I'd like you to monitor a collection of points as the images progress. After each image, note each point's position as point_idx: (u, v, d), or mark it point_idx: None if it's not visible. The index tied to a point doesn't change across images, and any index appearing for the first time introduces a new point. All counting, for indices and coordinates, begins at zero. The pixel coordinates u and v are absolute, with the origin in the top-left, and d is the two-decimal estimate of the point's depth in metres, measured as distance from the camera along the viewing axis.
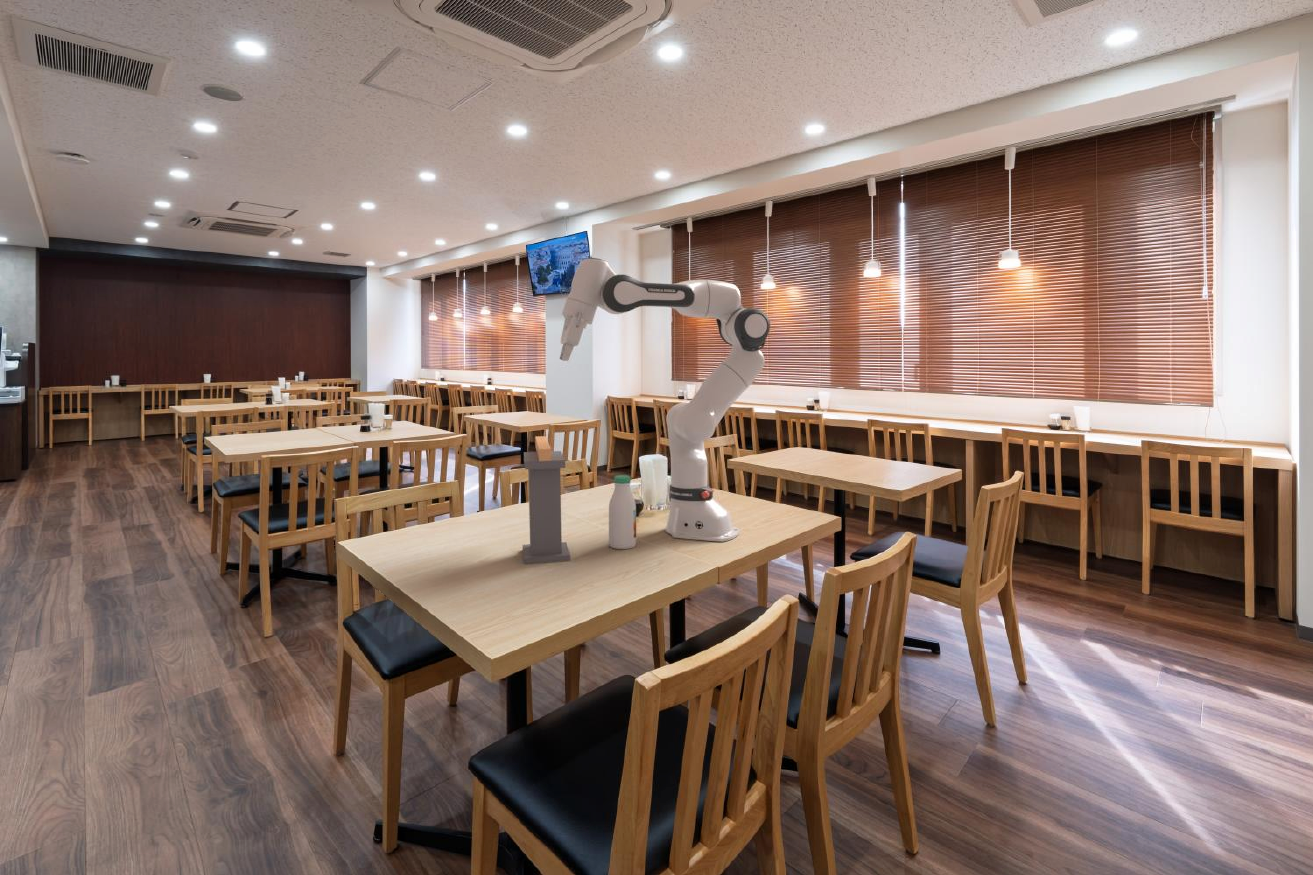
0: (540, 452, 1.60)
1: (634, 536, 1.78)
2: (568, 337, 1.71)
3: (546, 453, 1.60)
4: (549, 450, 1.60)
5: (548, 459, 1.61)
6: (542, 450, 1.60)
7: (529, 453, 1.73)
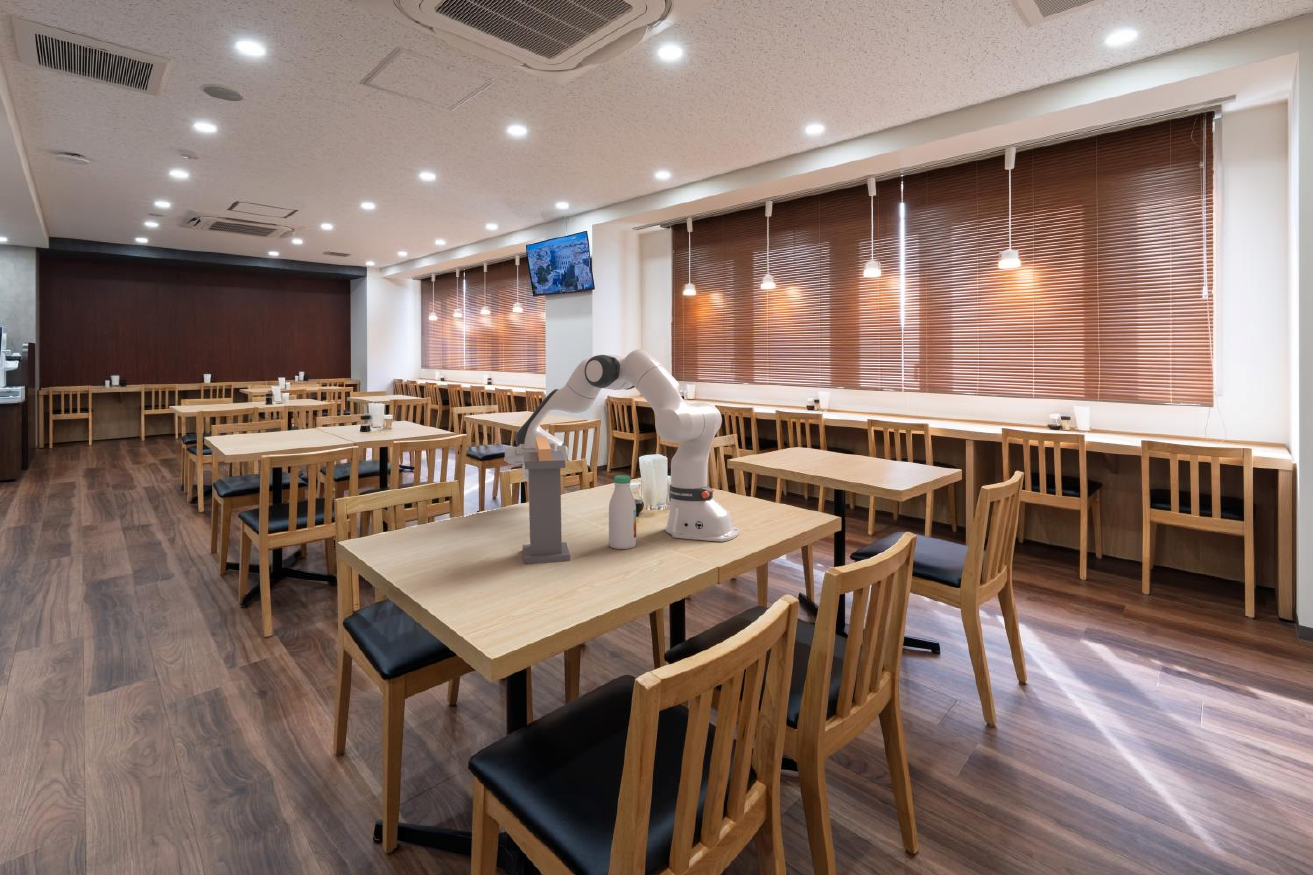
0: (540, 452, 1.60)
1: (634, 536, 1.78)
2: (505, 457, 2.04)
3: (546, 453, 1.60)
4: (549, 450, 1.60)
5: (548, 459, 1.61)
6: (542, 450, 1.60)
7: (529, 453, 1.73)
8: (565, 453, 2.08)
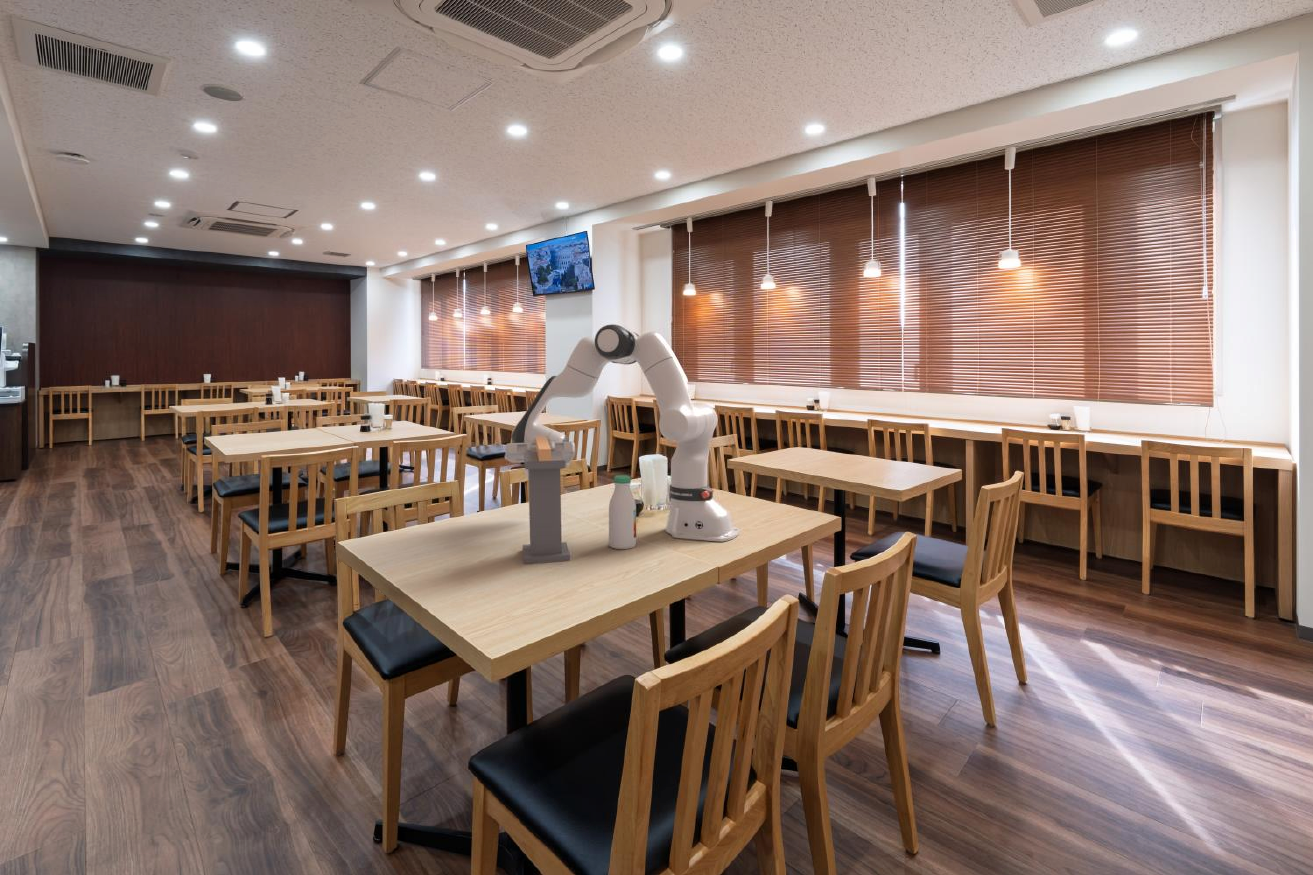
0: (540, 452, 1.60)
1: (634, 536, 1.78)
2: (505, 454, 1.85)
3: (546, 453, 1.60)
4: (549, 450, 1.60)
5: (548, 459, 1.61)
6: (542, 450, 1.60)
7: (529, 453, 1.73)
8: (572, 450, 1.88)
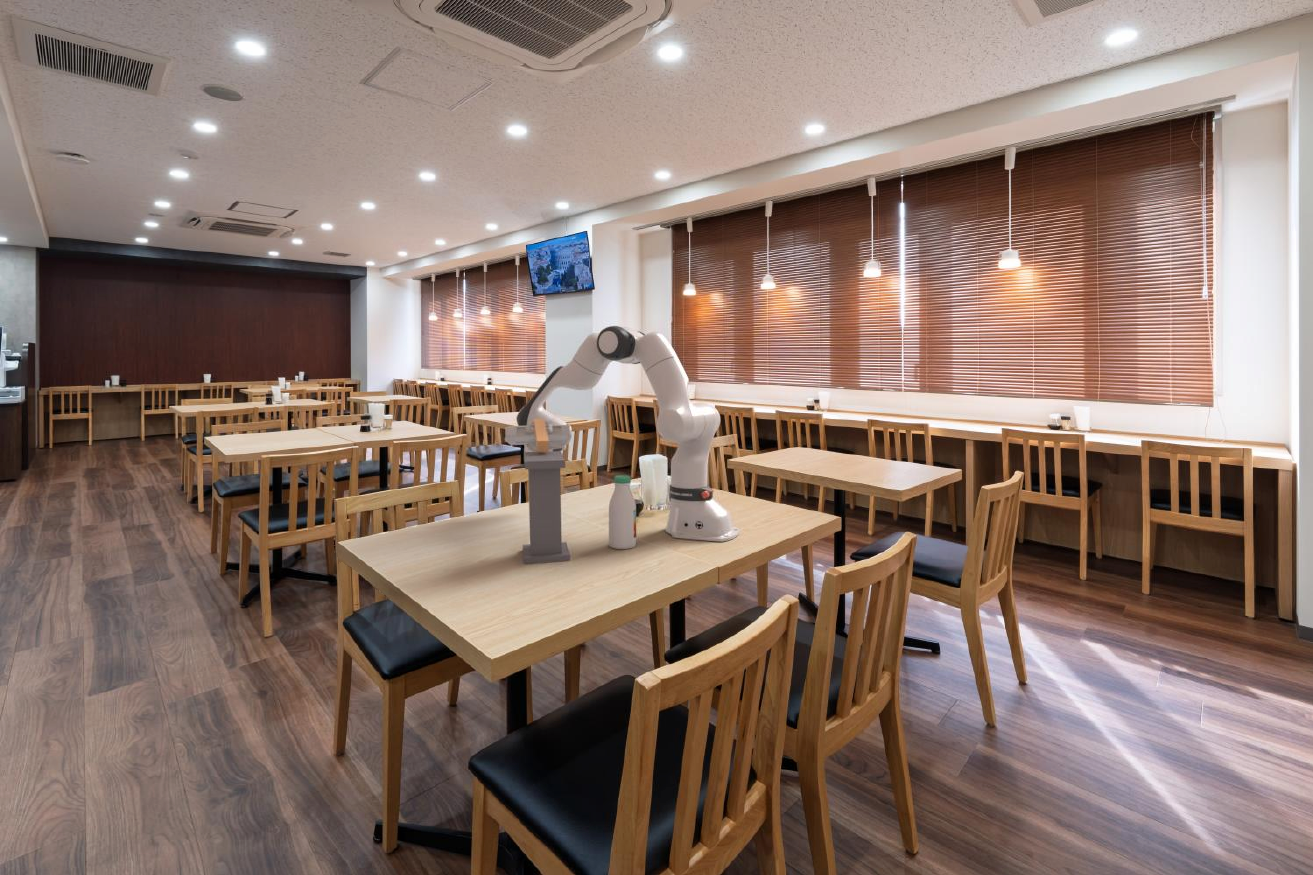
0: (538, 443, 1.70)
1: (634, 536, 1.78)
2: None
3: (544, 444, 1.70)
4: (547, 442, 1.70)
5: (546, 450, 1.71)
6: (540, 442, 1.70)
7: (529, 453, 1.73)
8: (569, 432, 1.97)
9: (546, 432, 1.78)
